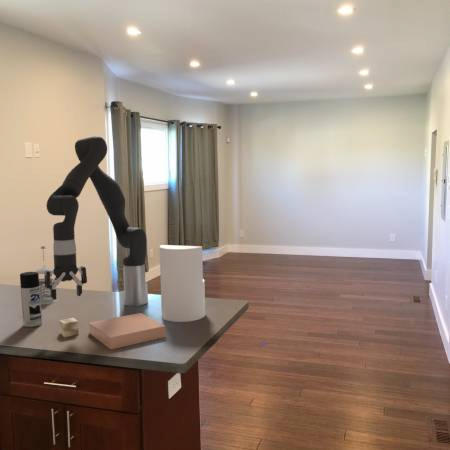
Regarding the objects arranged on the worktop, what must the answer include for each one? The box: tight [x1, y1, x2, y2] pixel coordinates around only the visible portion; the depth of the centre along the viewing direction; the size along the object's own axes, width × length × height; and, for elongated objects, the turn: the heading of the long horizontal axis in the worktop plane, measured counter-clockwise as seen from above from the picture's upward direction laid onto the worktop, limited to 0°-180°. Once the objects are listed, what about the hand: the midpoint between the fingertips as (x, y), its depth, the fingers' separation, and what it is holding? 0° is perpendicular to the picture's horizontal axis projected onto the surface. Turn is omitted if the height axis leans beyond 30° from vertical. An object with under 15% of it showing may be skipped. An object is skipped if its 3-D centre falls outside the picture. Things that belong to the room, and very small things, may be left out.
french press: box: [34, 245, 58, 305], centre depth 224 cm, size 10×12×25 cm
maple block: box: [59, 317, 79, 338], centre depth 180 cm, size 5×5×5 cm
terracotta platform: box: [88, 312, 167, 350], centre depth 178 cm, size 20×20×4 cm
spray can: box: [19, 271, 43, 328], centre depth 190 cm, size 7×7×20 cm
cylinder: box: [159, 244, 206, 323], centre depth 199 cm, size 17×17×28 cm
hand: (66, 297), depth 179 cm, fingers open, 8 cm apart
